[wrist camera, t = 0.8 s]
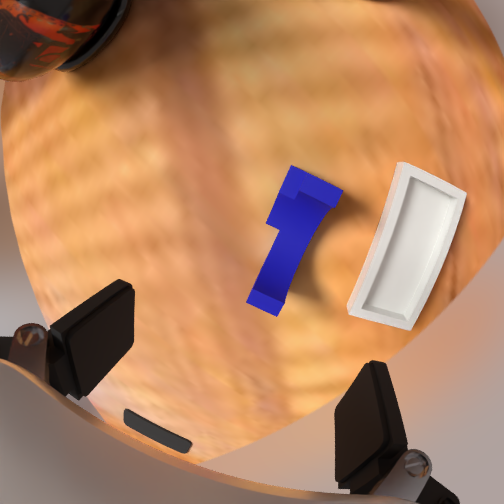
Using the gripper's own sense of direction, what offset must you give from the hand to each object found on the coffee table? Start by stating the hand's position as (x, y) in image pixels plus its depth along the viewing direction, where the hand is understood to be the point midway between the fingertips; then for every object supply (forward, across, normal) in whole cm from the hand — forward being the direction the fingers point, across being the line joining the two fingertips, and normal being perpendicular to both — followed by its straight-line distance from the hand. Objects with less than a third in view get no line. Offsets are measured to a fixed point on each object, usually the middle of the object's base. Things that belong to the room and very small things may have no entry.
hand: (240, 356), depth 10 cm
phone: (+19, +12, +46) cm, 52 cm away
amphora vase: (+19, +34, -24) cm, 46 cm away
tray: (+19, -13, -3) cm, 23 cm away
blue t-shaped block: (+19, 0, -1) cm, 19 cm away
